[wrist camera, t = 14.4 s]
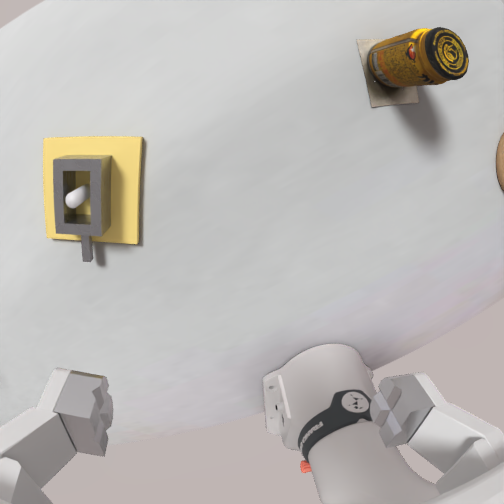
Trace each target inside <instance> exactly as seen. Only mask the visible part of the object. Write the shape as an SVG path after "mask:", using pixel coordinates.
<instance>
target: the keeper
mask: <svg viewBox="0 0 504 504" xmlns="http://www.w3.org/2000/svg"><path fill="white" fill-rule="evenodd" d="M142 141H143V137H124V136H89V137H55V138H44V143H43V186H44V208H45V222H46V234H47V238H54V239H68V240H81V235H71V234H56V229H55V214H54V193H53V159H55V158H59V157H62V156H65V155H112V163H111V226H110V228H109V229H108V230H107V231H106V232H105V233H104V234H103V236H92V241H97V242H112V243H127V244H138V242H139V198H140V173H141V155H142ZM66 204H67V206H68V207H70V208H76V214H88V215H91V213H90V171H76V190H74V191H72V192H70V193H69V194H68V195H67V196H66Z"/></svg>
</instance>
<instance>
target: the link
mask: <svg viewBox="0 0 504 504" xmlns="http://www.w3.org/2000/svg"><path fill="white" fill-rule="evenodd" d="M111 163H112V155H65V156H62V157H59V158H55V159H53V193H54V214H55V229H56V234H71V235H81V244H82V256H83V262H91V261H92V260H93V248H92V236H103V234H104V233H105V232H106V231H107V230H108V229H109V228H110V226H111ZM76 171H90V213H91V215H88V214H76V208H70V207H68V206H67V204H66V196H67V195H68V194H69V193H70V192H72V191H74V190H76Z"/></svg>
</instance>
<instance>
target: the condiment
mask: <svg viewBox="0 0 504 504" xmlns="http://www.w3.org/2000/svg"><path fill="white" fill-rule="evenodd" d="M357 44H358V48H359V53H360V56H361V61H362V65H363V70H364V74H365V77H366V82H367V87H368V92H369V96H370V101H371V106H372V107H376V106H385V105H396V104H408V103H419V99H418V93H417V86H422V85H438V84H442V83H445V82H446V81H449V80H457V79H460V78H461V77H463V76H464V75H465V73H466V72H467V68H468V63H469V60H468V54H467V50H466V47H465V45H464V44H463V42H462V40H461V39H460V37H459V36H457V35H456V34H455V33H454V32H453V31H451V30H449V29H446V28H441V27H437V28H434V29H427V28H426V29H425V28H422V29H416V30H413V31H411V32H408V33H405V34H402V35H399V36H395V37H393V38H390V39H359V40H357ZM374 81H375V82H374ZM402 87H403V89H402Z"/></svg>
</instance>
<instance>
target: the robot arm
mask: <svg viewBox="0 0 504 504" xmlns="http://www.w3.org/2000/svg"><path fill="white" fill-rule="evenodd" d="M372 378H373V372H372V370H371V369H370V368H369V367H368V366H366V365H364V363H363V361H362V358H361V356H360V354H359V353H358V352H357V351H356V350H355V349H354V348H352V347H350V346H347V345H343V344H324V345H320V346H316V347H313V348H310V349H308V350H306V351H304V352H302V353H300V354H298V355H297V356H295V357H294V358H292V359H291V360H290V361H289V362H288V363H287V364H285V365H284V366H283V367H282V368H280V369H278V370H276V371H273V372H271V373H269V374H267V375H266V376H264V378H263V380H262V381H263V395H264V408H265V422H266V429H267V432H268V433H270V434H274V435H278V436H281V437H282V441H283V444H284V446H285V447H287V448H288V449H291V450H297V451H300V452H301V454H302V456H304V458H305V461H301V466H300V467H301V471H302V472H303V473H306V472H310V471H312V474H313V477H314V481H315V484H316V487H317V491H318V494H319V498H320V501H321V502H322V503H323V504H504V434H503V433H502V431H501V430H500V429H499V428H497V427H495V426H493V425H491V424H489V423H488V422H486V421H484V420H482V419H480V418H478V417H476V416H475V415H473V414H471V413H469V412H467V411H465V410H463V409H462V408H460V407H458V406H456V405H454V404H452V403H447V402H446V400H445V399H444V398H443V396H442V395H441V393H440V392H439V391H438V389H437V388H436V387H435V385H434V384H433V382H432V381H431V380H430V378H429V377H428V376H427V374H425V373H423V372H418V373H413V374H406V375H399V376H393V377H387V378H384V379H383V380H382V381H381V383H380V385H379V389H380V391H379V392H378V393H377V392H376V390H375V387H374V385H373V383H372V380H371V379H372ZM108 387H109V385H108V381H107V377H105V376H100V375H95V374H89V373H84V372H78V371H73V370H67V369H62V368H58V367H57V368H56V369H55V370H54V371H53V372H52V374H51V376H50V379H49V381H48V383H47V385H46V387H45V389H44V391H43V394H42V396H41V398H40V400H39V403H38V405H37V407H36V408H35V407H31V408H29V409H28V410H26V411H25V412H23V413H21V414H20V415H18V416H17V417H15V418H14V419H12V420H11V421H9V422H8V423H6V424H4V425H3V426H1V427H0V504H53V503H52V502H51V500H50V499H49V498H48V497H47V496H46V495H45V494H44V493H43V492H42V491H41V488H42V487H43V486H44V485H45V484H46V483H48V481H50V480H51V479H52V478H53V477H54V476H55V475H56V474H57V473H58V472H59V471H60V470H61V469H62V468H63V467H64V466H65V465H66V464H67V463H68V462H69V461H70V460H71V459H72V458H73V457H74V456H75V455H76V454H77V452H80V453H86V454H91V455H97V456H105V452H106V447H107V443H108V436H107V433H106V430H107V429H108V428H110V427H111V424H112V419H113V402H112V397H111V396H110V395H109V394H108V393H107V390H108ZM406 443H408V444H407V445H408V446H410V447H411V448H412V449H413V450H415V451H416V452H417V453H418V454H420V455H421V456H422V457H424V458H425V459H426V460H427V461H429V462H430V463H431V464H432V465H434V466H435V467H436V468H438V469H439V470H440V471H441V472H443V473H444V475H443V476H442V477H441V478H440V479H439V480H438V481H437V483H436V484H434V483H432V482H429V481H427V480H425V479H424V478H422V477H421V476H419V475H418V474H417V473H416V472H414V471H413V470H412V469H411V468H410V466H409V465H408V464H407V462H406V461H405V459H404V458H403V456H402V455H401V453H400V452H399V450H398V449H397V447H396V446H398V445H402V444H406Z"/></svg>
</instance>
